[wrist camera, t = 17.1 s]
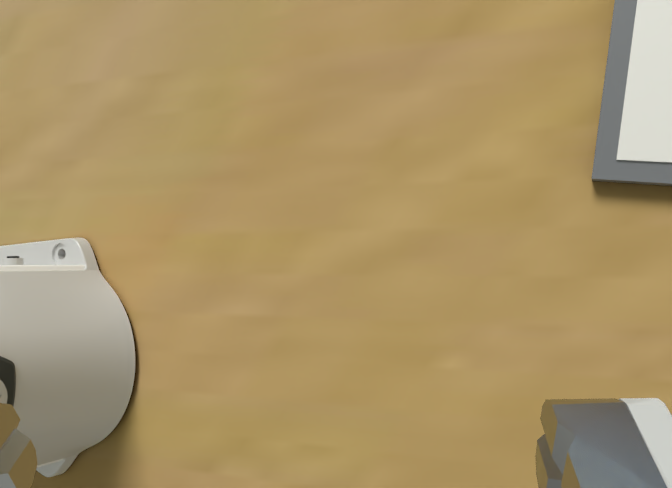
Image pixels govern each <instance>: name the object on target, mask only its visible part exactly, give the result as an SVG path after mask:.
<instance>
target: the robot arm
mask: <svg viewBox="0 0 672 488" xmlns="http://www.w3.org/2000/svg"><path fill="white" fill-rule="evenodd" d="M134 377H135V346H134V339H133V334H132V329H131V326H130V322H129V319H128V316H127V314H126V311H125V309H124V307H123V305H122V303H121V301H120V299H119V298H118V296H117V294H116V293H115V291H114V290H113V289H112V288H111V286H110V285H109V284H108V283H107V281H106V280H105V279H104V277H103V276H102V274H101V273H100V271H99V268H98V265H97V262H96V259H95V256H94V253H93V250H92V248H91V246H90V244H89V242H88V241H87V240H86V239H84V238H80V237H79V238H67V239H58V240H49V241H40V242H32V243H23V244H14V245H5V246H0V488H30V487H31V486H32V484H33V481H34V477H35V472H36V470H37V471H38V472H39V473H41V474H42V475H43V476H45V477H53V476H57V475H61V474H63V473H64V472H65V471H66V470H67V469H68V468H69V467H70V465H71V464H72V463H73V461H74V460H75V458H76V457H77V455H78V454H79V453H80V452H82V451H83V450H85V449H87V448H89V447H91V446H93V445H95V444H97V443H99V442H100V441H102V440H103V439H105V438H106V437H107V436H108V435H109V434H110V433H111V432H112V431H113V430H114V428H115V427H116V426H117V424H118V423H119V421H120V420H121V418H122V416H123V414H124V412H125V410H126V408H127V405H128V403H129V400H130V396H131V393H132V388H133V383H134ZM540 419H541V422H542V426H543V429H544V432H545V434H544V435H543V436H542V437H540V438H539V439H538V440H537V447H536V476H537V482H538V487H539V488H672V415H671V413H670V412H669V410H668V408H667V407H666V405H665V403H663V402H662V401H661V400H659V399H658V398H625V399H551V400H545V402H544V404H543V406H542V412H541V418H540Z"/></svg>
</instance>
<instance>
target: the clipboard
mask: <svg viewBox="0 0 672 488" xmlns="http://www.w3.org/2000/svg"><path fill="white" fill-rule="evenodd" d="M592 181H603V182H618V183H634V184H650V185H665V186H672V0H615V4H614V12H613V19H612V27H611V35H610V42H609V50H608V58H607V65H606V73H605V81H604V88H603V96H602V104H601V111H600V119H599V127H598V134H597V142H596V150H595V158H594V165H593V173H592Z"/></svg>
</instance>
